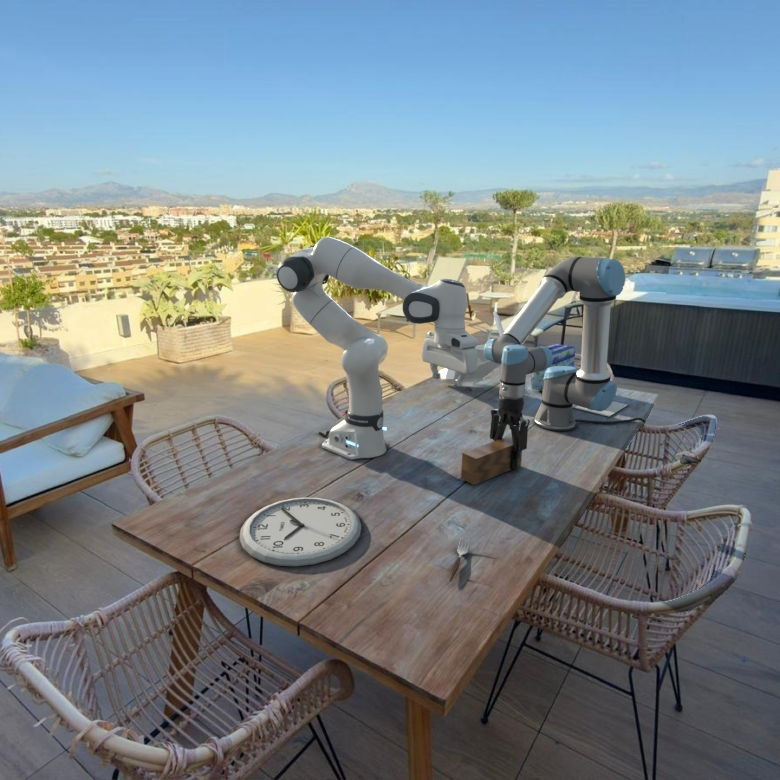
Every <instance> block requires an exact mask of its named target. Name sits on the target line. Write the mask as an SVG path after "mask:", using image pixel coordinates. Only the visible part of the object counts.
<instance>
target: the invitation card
mask: <svg viewBox="0 0 780 780" xmlns="http://www.w3.org/2000/svg"><path fill="white" fill-rule="evenodd" d="M628 406H629V404H627V403H623V402H618V401H614V400H613V402H612V403H611V405H610V406H609V407H608V408H607V409H606V410H604V411H595V410H590V409H587V408H584V407H581V406H577V405H575V406H574V407H573V409H575V410H581V411H584V412H587V413H593V414H596V415H600V416H604V417H608V418H609V417H611V416H613V415H614V414H616V413H617V412H619V411H621V410H623V409H624V408H626V407H628Z"/></svg>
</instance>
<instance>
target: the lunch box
mask: <svg viewBox="0 0 780 780" xmlns="http://www.w3.org/2000/svg"><path fill="white" fill-rule="evenodd" d="M546 347H547V348H548V349H549V350H550V351H551V352H552V355H553V362H552V364H551V366H550V367H554V366H572V367H575V360H576V358H575V357H576V349H575V346H572V345H565V344H560V343H555V344H552V345H547V346H546ZM550 367H549V368H550ZM545 371H546V369H545V370H543V371H540V372H534V373H531V376H530V377H531V378H530V387H531V389H532V390H536V391H539V392H540V391H541V392H542V391H543V381H544V379H543V378H544V374H545Z"/></svg>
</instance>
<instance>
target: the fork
mask: <svg viewBox="0 0 780 780" xmlns="http://www.w3.org/2000/svg"><path fill="white" fill-rule="evenodd" d="M465 538H466V540H465ZM462 539H463V540H462ZM468 539H469V541H468ZM470 545H471V537H469V538H468V536H464V537H463V535H461V536H460V540H459V543H458V545H457V549H456V550H457V553H458V557H457V558H456V560H455V562H454V564H453V566H452V571H451V575H450V577H449V582H451V581H452V580H453V578H454V576H455V575H456V573H457V571H458V569H459V567H460V563H461V558H462V556H465V555H468V553H469V551H470Z"/></svg>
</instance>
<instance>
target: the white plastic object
mask: <svg viewBox="0 0 780 780" xmlns="http://www.w3.org/2000/svg"><path fill="white" fill-rule="evenodd" d="M492 315H493V319H494V321H495V324H496V325H495V326H496V328H497V332H498V335H499V337H500V336H501V335H502V334H503V333H504V331H505V330H504V328H503V325H502V321H501V318H500V315H499V314H498V312H497V311H496V310H495V311H492ZM485 344H486V343H483V344H479V345H477V346H475V348H476V349H477V352H478V364H477V370H476V372H475V373H473V374H468V375H466V376H465V378H464V379H463V380H462V384H467V383H468V384H469V383H473V384H477V383H480V382H482V381H484V378H485V377H486V376H487V375H489V374H490V373H492V372H494V371H495V370H496V369H497V368H499V367H500V366H501V364H499V363H495V362H492V361H490V360H488V359H486V357H485V355H484V347H485ZM438 372H439V373H440V381H442V383H443V384H444V385H445V386H449V385H454V384H455V380H457V379H458V377H459V375H458V372H457V371H453V370H450V369H447V368H444V367H443V368H442V369H440V370H439V369H438ZM528 387H529V386H528V384H527V381H525V396H526V397H528V396H531V395H530V390H529V388H528Z"/></svg>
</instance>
